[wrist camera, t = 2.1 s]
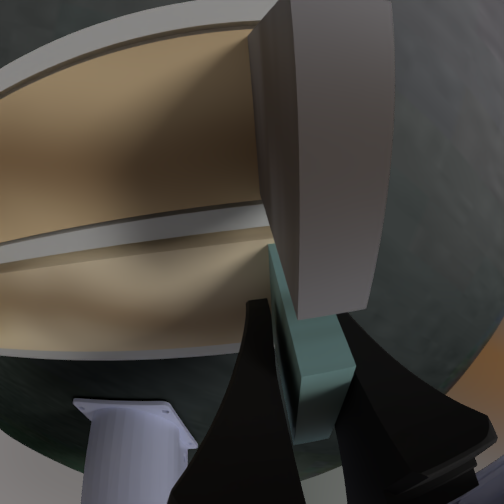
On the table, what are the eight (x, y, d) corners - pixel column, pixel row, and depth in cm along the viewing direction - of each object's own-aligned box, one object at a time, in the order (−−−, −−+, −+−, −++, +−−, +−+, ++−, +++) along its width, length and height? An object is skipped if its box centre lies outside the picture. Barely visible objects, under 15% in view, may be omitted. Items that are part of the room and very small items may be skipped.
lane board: (308, 318, 15) (315, 341, 14) (-32, 335, 14) (-40, 350, 13) (308, 6, 7) (322, -3, 6) (-112, 170, 6) (-126, 180, 5)
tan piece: (294, 314, 14) (328, 440, 9) (-36, 331, 13) (-68, 400, 8) (295, 217, 11) (358, 361, 6) (-72, 274, 10) (-117, 343, 5)
